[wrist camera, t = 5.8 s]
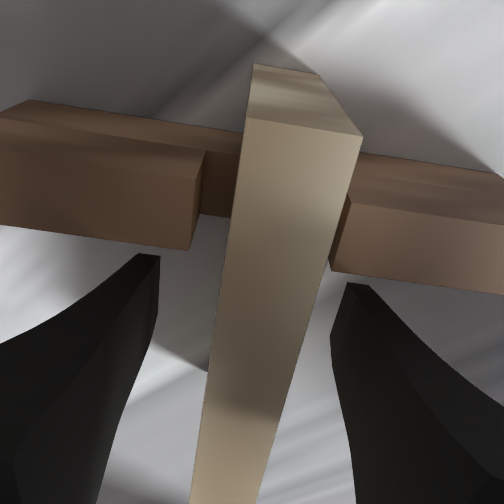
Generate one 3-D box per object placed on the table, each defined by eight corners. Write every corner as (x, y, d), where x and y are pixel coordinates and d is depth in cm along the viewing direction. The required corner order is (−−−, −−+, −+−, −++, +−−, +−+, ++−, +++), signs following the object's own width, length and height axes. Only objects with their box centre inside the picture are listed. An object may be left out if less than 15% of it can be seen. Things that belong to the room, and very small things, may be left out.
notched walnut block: (497, 173, 13) (581, 237, 10) (472, 225, 14) (541, 300, 10) (28, 99, 12) (-63, 140, 9) (35, 160, 13) (-45, 217, 10)
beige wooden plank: (318, 74, 12) (363, 136, 6) (250, 378, 18) (245, 534, 13) (253, 63, 12) (246, 117, 6) (207, 373, 18) (185, 528, 13)
